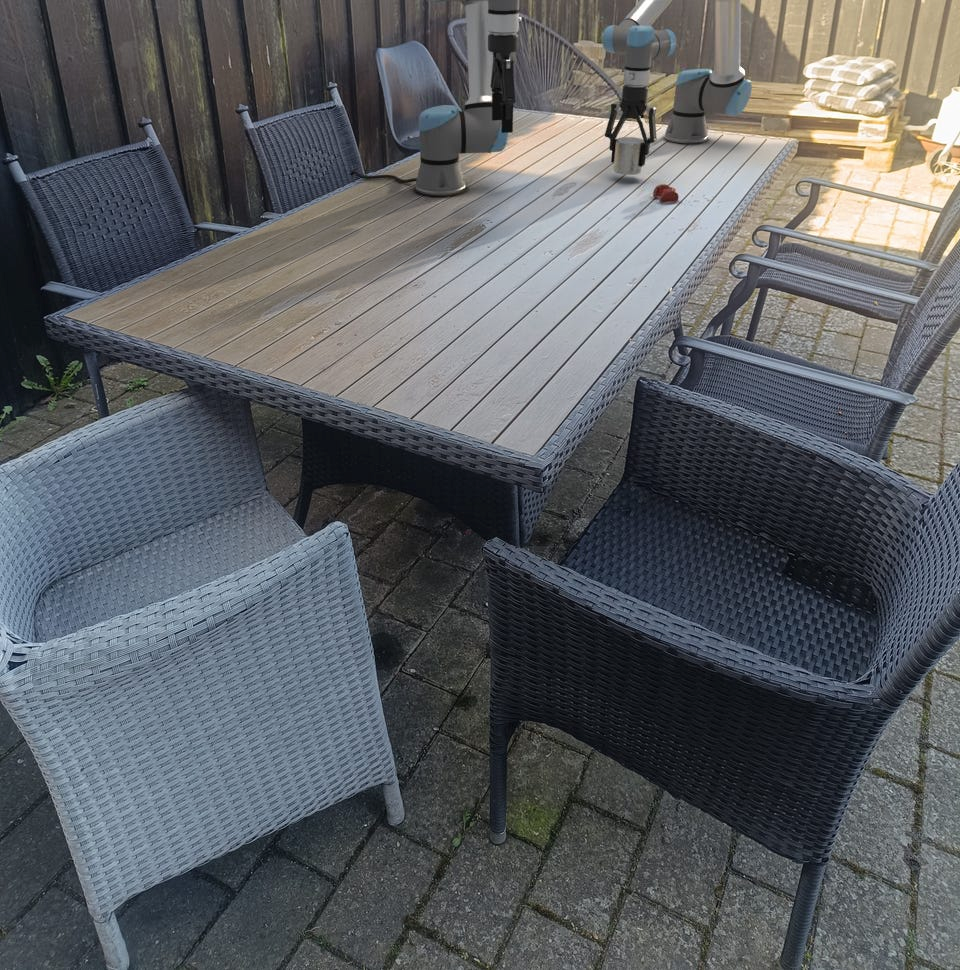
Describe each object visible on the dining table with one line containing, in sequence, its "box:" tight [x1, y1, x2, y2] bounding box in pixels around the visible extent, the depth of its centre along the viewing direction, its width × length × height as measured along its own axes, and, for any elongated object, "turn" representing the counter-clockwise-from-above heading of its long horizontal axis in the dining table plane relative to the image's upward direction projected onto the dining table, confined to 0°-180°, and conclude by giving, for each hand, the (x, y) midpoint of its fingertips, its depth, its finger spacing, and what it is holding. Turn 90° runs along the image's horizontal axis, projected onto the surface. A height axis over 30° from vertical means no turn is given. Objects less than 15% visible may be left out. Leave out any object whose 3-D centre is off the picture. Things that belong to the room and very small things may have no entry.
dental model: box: [652, 183, 679, 203], centre depth 249 cm, size 6×4×8 cm
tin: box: [612, 136, 644, 176], centre depth 262 cm, size 9×9×9 cm
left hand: (502, 126), depth 216 cm, fingers open, 13 cm apart
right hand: (627, 163), depth 264 cm, fingers closed on tin, 9 cm apart
